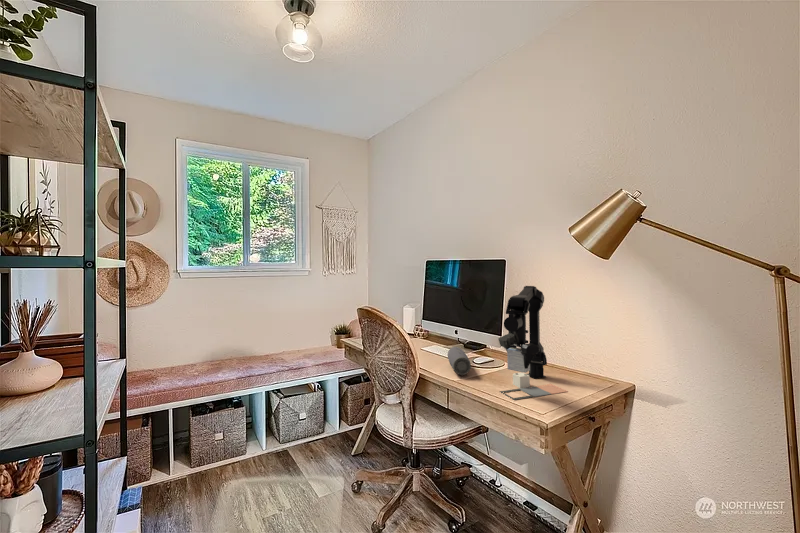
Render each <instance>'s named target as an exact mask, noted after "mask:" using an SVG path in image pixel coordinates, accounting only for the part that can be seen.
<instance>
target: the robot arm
mask: <svg viewBox="0 0 800 533" xmlns="http://www.w3.org/2000/svg"><path fill="white" fill-rule="evenodd" d="M544 303H545V295H544V293H543V291H541V290H539V289H538V288H537V286H535V285H525V286H523V289H522V290H521V291H520V292H519V293H518V294H517V295H512V296H510V297H509V299H508V301H507V305H506V310H505V315H508V317H506V318H505V319H504V321H503V327H504V328H505V330H506V331H508V333H507V334H504V335H502V336H500V337H499V338H498V342H499V346H500V347H503V348H504V349H505V351H506V352H507V349H509V348H511V347H515V348H521V351H522V352H521V354H522V355H523V357H524V368H525V369H527V368H528V366H529V364H530V371H528V373H526V374H527V375H529V376H530V377H531V378H532V379H542V378H543V379H544V378H547V376H546V375H544V374H545V373H544V372H545V371H544V366H547V364H548V360H547V355H546V353H545V351H544V349H545V348H544V347H543V345H542V343H541V339H540V338H541V335H540V334H541V332H540V329H541V328H540V324H541V323H540V321H541V320H540V311H541V309H542V308H543V307H544ZM527 314H528V319H529V320H528V322H529V323H528V329H529V330H528V329H527V320H526V318H527V317H526V315H527ZM527 334H529V335H528V336H529V337H528V338H529V340H527Z"/></svg>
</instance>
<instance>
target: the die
mask: <svg viewBox="0 0 800 533" xmlns="http://www.w3.org/2000/svg"><path fill="white" fill-rule="evenodd" d="M527 374H528V373H524V372H515V373H512V386H514V385H515V386H514V387H516V386H517V388H518V389H519V388H526V387H531V384H530V383H531V382H530V381H531V378H530V376H529V375H527Z"/></svg>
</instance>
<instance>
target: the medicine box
mask: <svg viewBox="0 0 800 533" xmlns="http://www.w3.org/2000/svg"><path fill="white" fill-rule="evenodd" d="M521 352H522V351H521V348H520V347H516V348H515V347H511V348H509V349H507V351H506V353H507V359H506V360H507V370H509V371H514V372H518V373H525V374H527V373H529V371H530V364H529V366H528V368H527V369H525V368H524V357H523V355H522V354H521Z"/></svg>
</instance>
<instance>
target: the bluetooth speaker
mask: <svg viewBox="0 0 800 533" xmlns="http://www.w3.org/2000/svg"><path fill="white" fill-rule="evenodd" d="M447 359H448V363H449V365H450V366H451V368H452V370H453V371H454V372H455V373H456V374H458V375H459V376H460V375H461V376H463V375H467V374H468V373H469V372H470V371H471V368H472V367H471V366H472V364H471V361H470V358H469V356H467V354H466V352H465V351H464V350H463V349H461V348H460V347H458V346H452V347H451V348H449V349H448V352H447Z"/></svg>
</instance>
